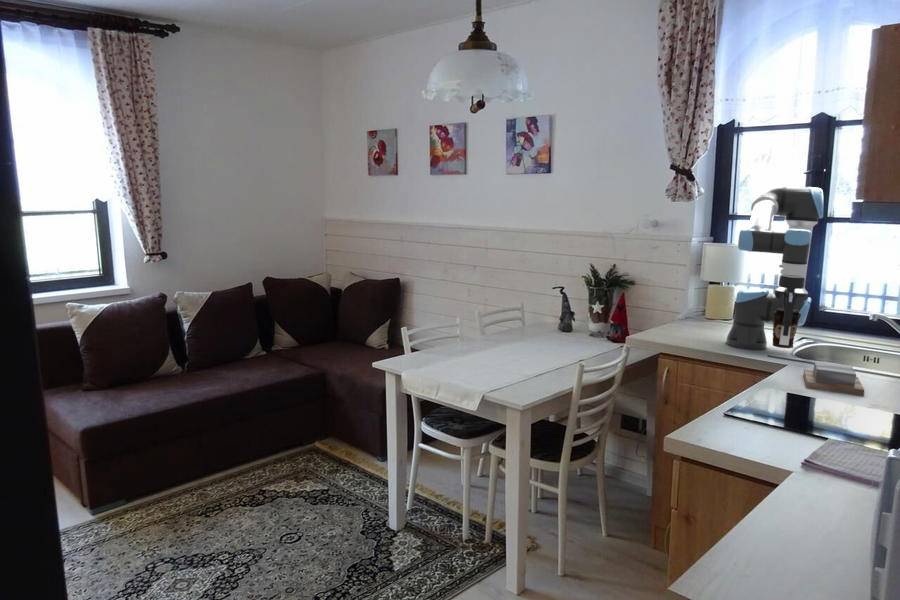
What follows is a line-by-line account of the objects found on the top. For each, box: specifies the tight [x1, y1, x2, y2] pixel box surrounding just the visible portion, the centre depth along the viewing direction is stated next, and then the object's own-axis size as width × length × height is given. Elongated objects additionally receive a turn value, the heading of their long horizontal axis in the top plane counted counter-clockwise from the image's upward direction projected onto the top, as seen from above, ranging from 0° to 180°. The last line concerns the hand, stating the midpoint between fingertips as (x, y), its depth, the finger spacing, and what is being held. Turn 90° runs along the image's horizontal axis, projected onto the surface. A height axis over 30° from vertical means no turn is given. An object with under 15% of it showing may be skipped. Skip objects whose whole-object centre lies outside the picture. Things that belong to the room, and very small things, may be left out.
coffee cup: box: [772, 308, 801, 349], centre depth 219 cm, size 9×8×13 cm
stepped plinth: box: [803, 360, 865, 397], centre depth 215 cm, size 16×16×6 cm
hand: (783, 341), depth 220 cm, fingers closed on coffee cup, 8 cm apart
